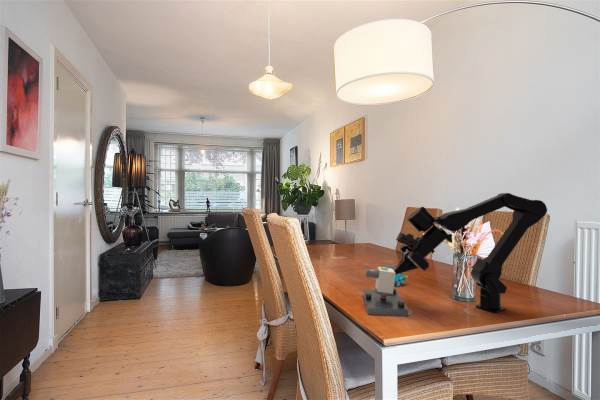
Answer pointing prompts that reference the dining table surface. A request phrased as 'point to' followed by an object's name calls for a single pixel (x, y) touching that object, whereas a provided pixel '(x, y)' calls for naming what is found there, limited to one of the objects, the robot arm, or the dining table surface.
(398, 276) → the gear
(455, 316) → the dining table surface
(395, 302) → the base
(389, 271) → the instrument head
